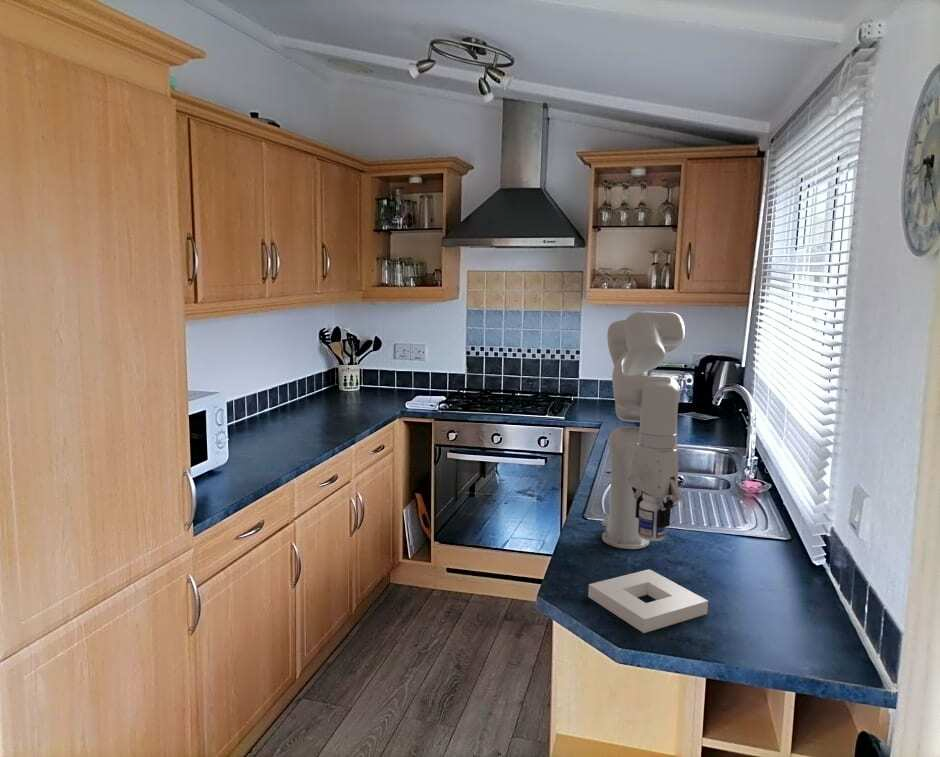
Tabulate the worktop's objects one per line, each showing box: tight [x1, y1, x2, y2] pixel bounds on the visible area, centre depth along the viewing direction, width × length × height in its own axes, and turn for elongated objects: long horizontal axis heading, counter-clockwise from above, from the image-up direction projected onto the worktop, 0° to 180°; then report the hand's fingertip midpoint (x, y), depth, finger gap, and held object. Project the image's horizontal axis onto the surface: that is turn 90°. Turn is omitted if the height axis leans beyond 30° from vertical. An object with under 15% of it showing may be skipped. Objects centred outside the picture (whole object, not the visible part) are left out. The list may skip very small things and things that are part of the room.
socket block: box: [587, 569, 709, 634], centre depth 155 cm, size 18×18×3 cm
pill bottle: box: [638, 492, 667, 542], centre depth 153 cm, size 6×6×10 cm
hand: (652, 521), depth 153 cm, fingers closed on pill bottle, 5 cm apart
